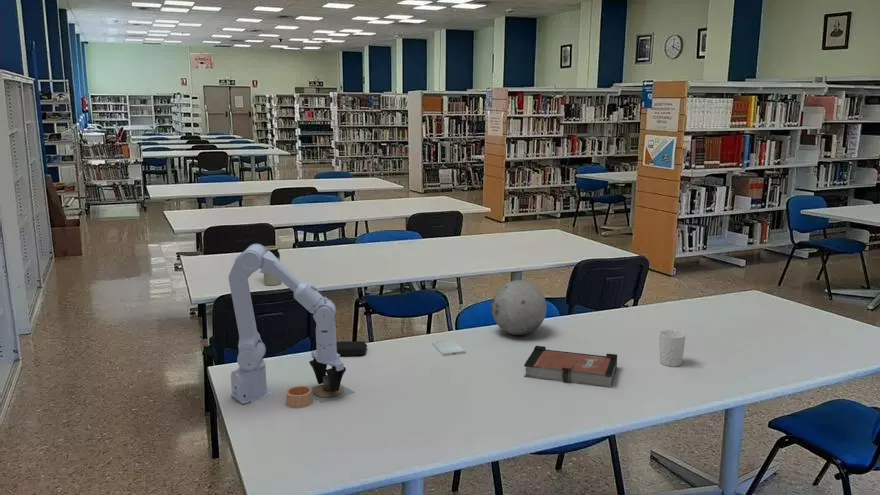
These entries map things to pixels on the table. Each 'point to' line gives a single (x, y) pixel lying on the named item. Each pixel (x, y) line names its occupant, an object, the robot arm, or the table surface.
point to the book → (571, 367)
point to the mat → (346, 392)
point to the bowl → (299, 396)
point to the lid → (326, 389)
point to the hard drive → (448, 347)
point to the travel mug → (268, 277)
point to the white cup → (671, 347)
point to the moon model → (518, 307)
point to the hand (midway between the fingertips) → (328, 387)
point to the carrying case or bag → (351, 348)
